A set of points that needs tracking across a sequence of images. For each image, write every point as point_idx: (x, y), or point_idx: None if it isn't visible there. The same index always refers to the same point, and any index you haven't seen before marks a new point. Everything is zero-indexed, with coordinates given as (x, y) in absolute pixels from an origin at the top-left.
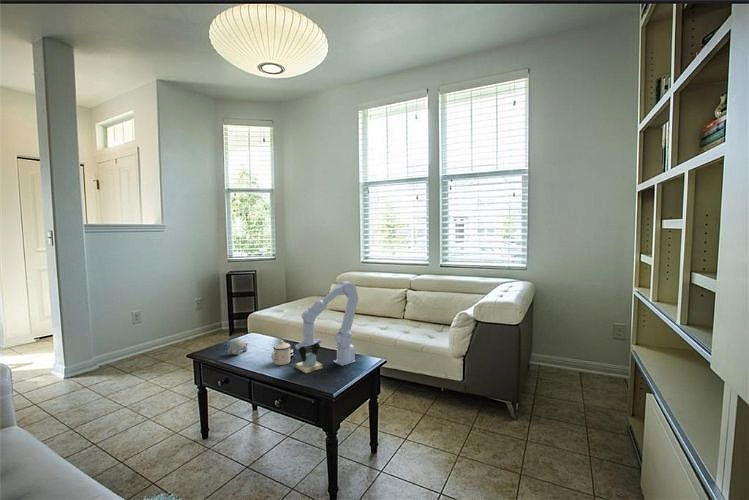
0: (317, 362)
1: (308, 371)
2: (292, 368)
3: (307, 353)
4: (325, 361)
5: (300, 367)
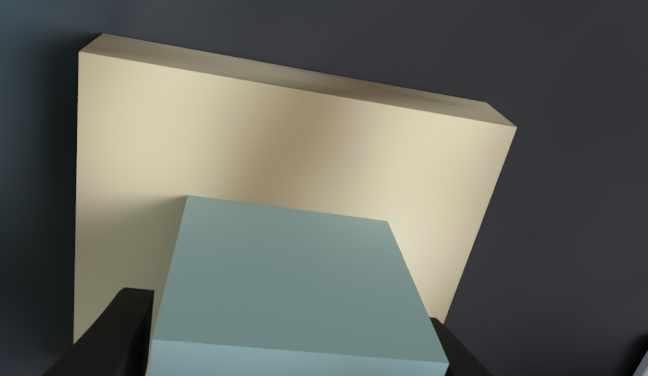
0: None
1: None
2: (21, 18)
3: (327, 357)
4: (631, 237)
5: (82, 238)
